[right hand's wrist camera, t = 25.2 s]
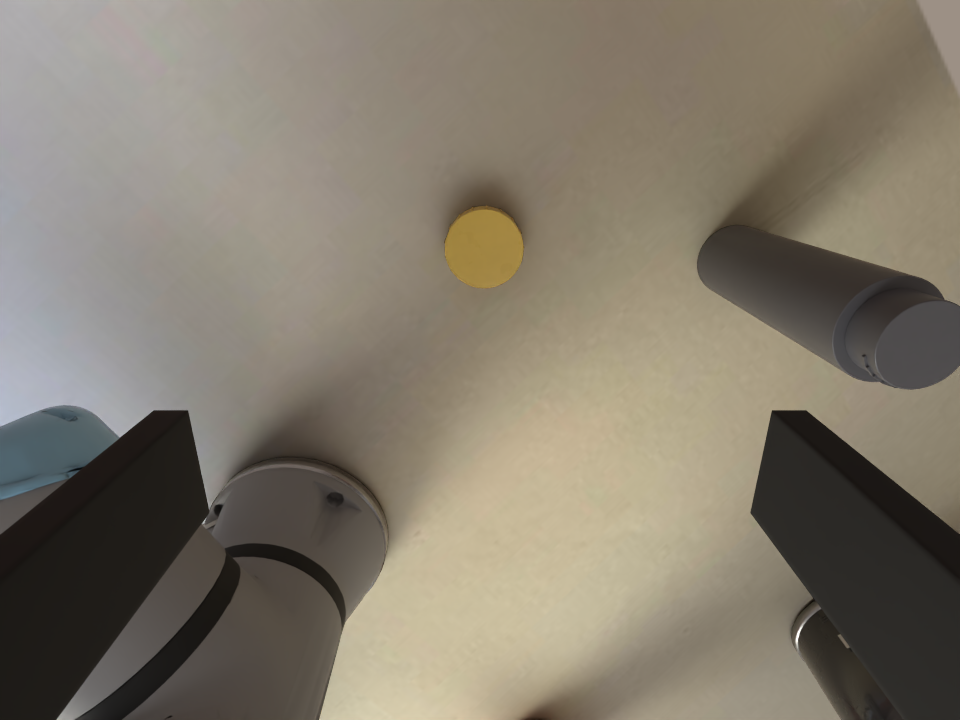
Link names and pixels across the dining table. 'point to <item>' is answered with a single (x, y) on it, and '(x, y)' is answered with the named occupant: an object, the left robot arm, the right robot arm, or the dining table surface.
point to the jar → (837, 306)
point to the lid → (484, 247)
